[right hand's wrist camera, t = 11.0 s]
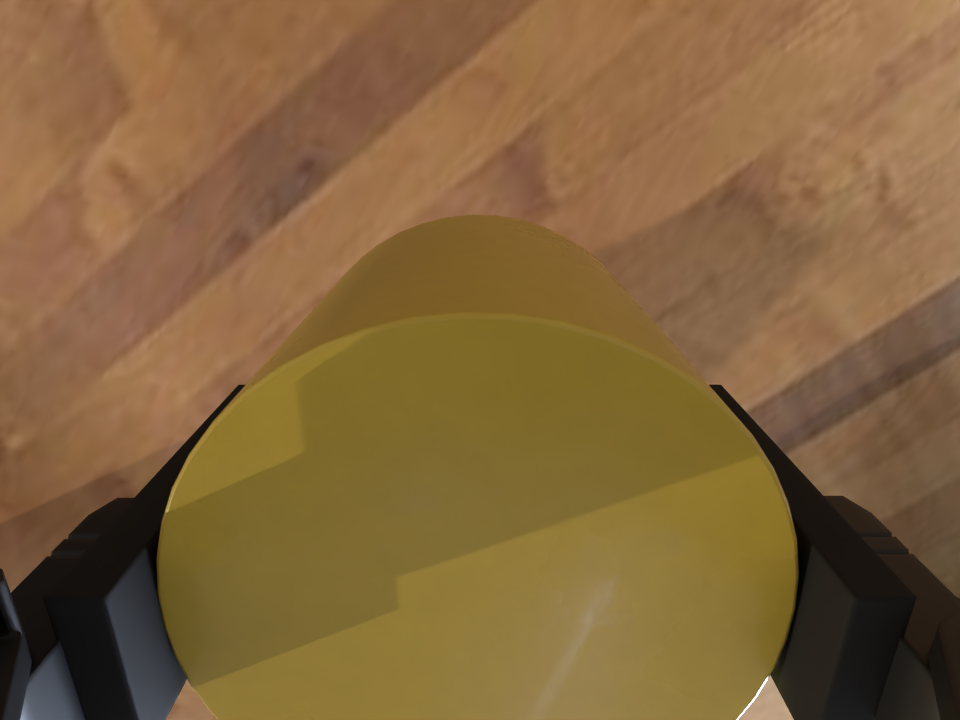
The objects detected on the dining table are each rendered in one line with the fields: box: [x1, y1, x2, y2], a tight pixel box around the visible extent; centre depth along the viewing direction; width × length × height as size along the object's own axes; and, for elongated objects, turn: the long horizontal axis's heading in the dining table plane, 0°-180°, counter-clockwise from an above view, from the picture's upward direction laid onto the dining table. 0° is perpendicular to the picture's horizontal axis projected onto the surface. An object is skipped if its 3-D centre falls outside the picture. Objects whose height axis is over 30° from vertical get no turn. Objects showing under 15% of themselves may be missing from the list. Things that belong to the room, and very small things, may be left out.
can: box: [156, 215, 799, 720], centre depth 13 cm, size 9×9×8 cm
